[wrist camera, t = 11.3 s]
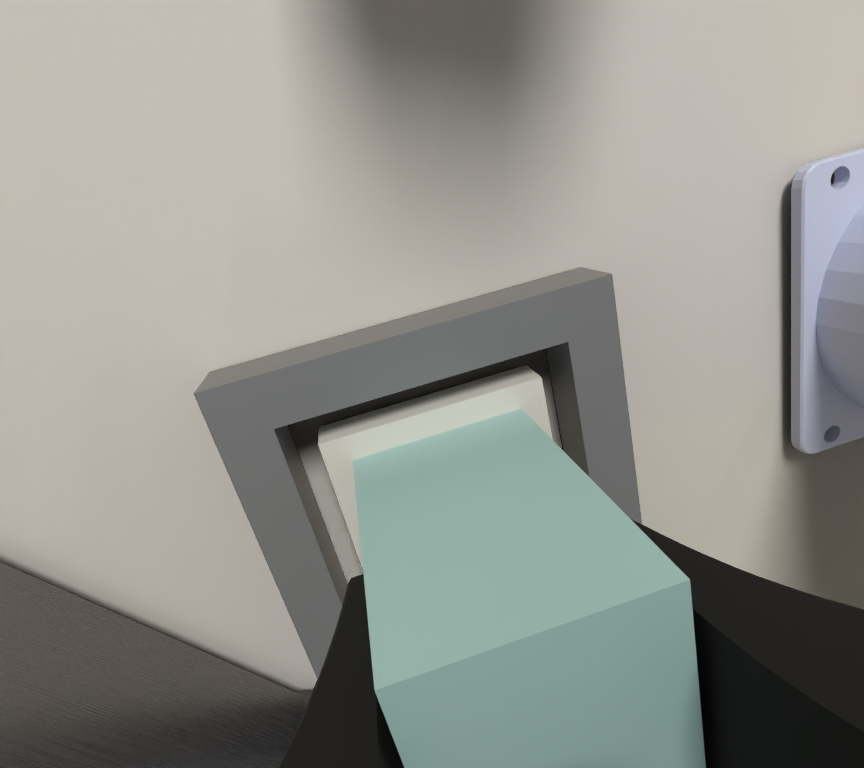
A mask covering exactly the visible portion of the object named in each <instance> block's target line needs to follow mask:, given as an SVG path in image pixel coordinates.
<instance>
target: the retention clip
mask: <svg viewBox="0 0 864 768" xmlns="http://www.w3.org/2000/svg"><path fill="white" fill-rule="evenodd" d="M312 692H313V691H310V690H304V691H298V692H294V691H292V690H289V689H287V688H285V687H283V686H280V685H278V684H276V683H274V682H271V681H269V680H267V679H264V678H262V677H260V676H258V675H255V674H253V673H251V672H249V671H246V670H244V669H242V668H239V667H237V666H235V665H233V664H230V663H228V662H226V661H224V660H221V659H219V658H217V657H215V656H212V655H210V654H208V653H205V652H203V651H201V650H199V649H196V648H194V647H192V646H190V645H187V644H185V643H183V642H180V641H178V640H176V639H174V638H171V637H169V636H167V635H165V634H162V633H160V632H158V631H155V630H153V629H151V628H149V627H146V626H144V625H142V624H140V623H137V622H135V621H133V620H131V619H128V618H126V617H124V616H121V615H119V614H117V613H115V612H112V611H110V610H108V609H106V608H103V607H101V606H99V605H96V604H94V603H92V602H90V601H87V600H85V599H83V598H81V597H78V596H76V595H74V594H72V593H69V592H67V591H65V590H62V589H60V588H58V587H56V586H53V585H51V584H49V583H47V582H44V581H42V580H40V579H37V578H35V577H33V576H31V575H28V574H26V573H24V572H22V571H19V570H17V569H15V568H12V567H10V566H8V565H6V564H3V563H1V562H0V768H278V766H279V764H280V762H281V760H282V758H283V756H284V754H285V752H286V750H287V748H288V746H289V744H290V742H291V740H292V738H293V736H294V734H295V731H296V729H297V727H298V725H299V723H300V720H301V718H302V716H303V714H304V711H305V709H306V706H307V704H308V701H309V699H310V697H311V694H312Z"/></svg>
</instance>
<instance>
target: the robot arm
mask: <svg viewBox="0 0 864 768" xmlns="http://www.w3.org/2000/svg"><path fill="white" fill-rule="evenodd" d="M833 172H834V174H835V179H834V183H833V184H832V185H831V181H830V180H831V176H832V174H833ZM863 437H864V148H860V149H857V150H853V151H849V152H846V153H842V154H838V155H835V156H831V157H827V158H824V159H820V160H816V161H813V162H809V163H807V164H805V165H803V166H802V167H801V168H800V169H799V170H798V171H797V172H796V174H795V176H794V178H793V181H792V187H791V442H792V445H793V446H794V447H795V448H796V449H798V450H800V451H801V452H803V453H806V454H815V453H818V452H821V451H824V450H827V449H830V448H833V447H836V446H839V445H842V444H845V443H848V442H851V441H854V440H857V439H860V438H863ZM631 520H632V519H631ZM632 521H633V522H634V523H635V524H636V525H637V526H638V527H639V528H640V529H641V530H642V531H643V532H644V533H645V534H646V535H647V536H648V537H649V538H650V539H651V540H652V541H653V542H654V543H655V544H656V545H657V546H658V547H659V549H660V550H661V551H662V552H663V553H664V554H665V555H666V556H667V557H668V558H669V559H670V560H671V561H672V562H673V563H674V564H675V565H676V566H677V567H678V568H679V569H680V570H681V571H682V572H683V573H684V574H685V575H686V576H687V577H688V578H689V579H690V584H691V596H692V608H693V620H694V632H695V644H696V656H697V668H698V679H699V691H700V703H701V715H702V727H703V739H704V751H705V763H706V768H864V610H863V609H859V608H856V607H852V606H849V605H845V604H842V603H838V602H835V601H831V600H827V599H824V598H821V597H818V596H814V595H811V594H808V593H805V592H802V591H799V590H796V589H793V588H790V587H787V586H784V585H781V584H778V583H776V582H773V581H770V580H767V579H764V578H761V577H758V576H756V575H753V574H751V573H748V572H745V571H743V570H740V569H738V568H735V567H733V566H730V565H728V564H726V563H723V562H721V561H719V560H716V559H714V558H712V557H709V556H707V555H704V554H702V553H700V552H698V551H696V550H693V549H691V548H689V547H687V546H685V545H682V544H680V543H678V542H676V541H674V540H672V539H670V538H668V537H666V536H664V535H662V534H660V533H658V532H656V531H654V530H652V529H650V528H648V527H646V526H644V525H642V524H640V523H638V522H636V521H634V520H632ZM278 768H404V765H403V763H402V760H401V758H400V755H399V753H398V750H397V747H396V745H395V742H394V740H393V737H392V734H391V732H390V729H389V727H388V724H387V721H386V719H385V716H384V714H383V711H382V709H381V706H380V703H379V701H378V698H377V696H376V693H375V690H374V680H373V669H372V659H371V648H370V637H369V627H368V616H367V606H366V595H365V585H364V574H363V575H359V576H356V577H353V578H351V580H350V581H349V583H348V585H347V589H346V594H345V598H344V601H343V605H342V609H341V612H340V616H339V619H338V622H337V625H336V629H335V632H334V635H333V638H332V641H331V644H330V647H329V649H328V652H327V655H326V658H325V661H324V664H323V667H322V669H321V672H320V675H319V677H318V680H317V682H316V684H315V687H314V689H313V692H312V694H311V697H310V699H309V701H308V704H307V706H306V709H305V711H304V714H303V716H302V718H301V720H300V723H299V725H298V727H297V729H296V731H295V734H294V736H293V738H292V740H291V742H290V744H289V746H288V748H287V750H286V752H285V754H284V756H283V758H282V760H281V762H280V764H279V766H278Z"/></svg>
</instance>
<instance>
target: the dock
mask: <svg viewBox="0 0 864 768" xmlns="http://www.w3.org/2000/svg"><path fill="white" fill-rule="evenodd" d="M545 348H546V353H547V359H548V364H549V370H550V376H551V382H552V388H553V393H554V399H555V405H556V411H557V417H558V422H559V428H560V434H561V440H562V446H563V451H564V452H565V453H566V454H567V455H568V456H569V457H570V458H571V459H572V460H573V461H574V462H575V463H576V464H577V465H578V466H579V467H580V468H581V469H582V470H583V471H584V472H585V473H586V474H587V475H588V476H589V477H590V478H591V479H592V480H593V481H594V483H595V484H596V485H597V486H598V487H599V488H600V489H601V490H602V491H603V492H604V493H605V494H606V495H607V496H608V497H609V498H610V499H611V500H612V501H613V502H614V503H615V504H616V505H617V506H618V507H619V508H620V509H621V510H622V511H623V512H624V513H625V514H626V515H627V516H628V517H629V518H630V519H632V520H634V521H636V522H638V523H640V524H642V521H641V513H640V504H639V496H638V488H637V479H636V471H635V463H634V454H633V446H632V437H631V429H630V421H629V412H628V404H627V396H626V387H625V379H624V370H623V362H622V354H621V345H620V337H619V329H618V320H617V312H616V303H615V295H614V287H613V278H612V274H610V273H605V272H600V271H596V270H591V269H586V268H582V267H580V268H576V269H573V270H569V271H565V272H562V273H558V274H555V275H551V276H548V277H544V278H541V279H537V280H534V281H530V282H527V283H523V284H520V285H516V286H512V287H509V288H505V289H502V290H498V291H495V292H491V293H488V294H484V295H481V296H477V297H474V298H470V299H466V300H463V301H459V302H456V303H452V304H449V305H445V306H442V307H438V308H435V309H431V310H428V311H424V312H420V313H417V314H413V315H410V316H406V317H403V318H399V319H396V320H392V321H389V322H385V323H382V324H378V325H375V326H371V327H367V328H364V329H360V330H357V331H353V332H350V333H346V334H343V335H339V336H336V337H332V338H329V339H325V340H321V341H318V342H314V343H311V344H307V345H304V346H300V347H297V348H293V349H290V350H286V351H283V352H279V353H275V354H272V355H268V356H265V357H261V358H258V359H254V360H251V361H247V362H244V363H240V364H237V365H233V366H229V367H226V368H222V369H219V370H215V371H212V372H209V374H208V375H207V376H206V378H205V379H204V380H203V382H202V383H201V384H200V386H199V387H198V388H197V390H196V391H195V392H194V395H195V398H196V400H197V402H198V405H199V407H200V409H201V412H202V414H203V416H204V419H205V421H206V423H207V425H208V428H209V430H210V432H211V435H212V437H213V439H214V442H215V444H216V446H217V448H218V451H219V453H220V455H221V458H222V460H223V462H224V465H225V467H226V469H227V471H228V474H229V476H230V478H231V481H232V483H233V485H234V488H235V490H236V492H237V494H238V497H239V499H240V501H241V504H242V506H243V508H244V511H245V513H246V515H247V518H248V520H249V522H250V524H251V527H252V529H253V531H254V534H255V536H256V538H257V541H258V543H259V545H260V547H261V550H262V552H263V554H264V557H265V559H266V561H267V564H268V566H269V568H270V570H271V573H272V575H273V577H274V580H275V582H276V584H277V587H278V589H279V591H280V593H281V596H282V598H283V600H284V603H285V605H286V607H287V610H288V612H289V614H290V617H291V619H292V621H293V623H294V626H295V628H296V630H297V633H298V635H299V637H300V640H301V642H302V644H303V646H304V649H305V651H306V653H307V656H308V658H309V660H310V663H311V665H312V667H313V669H314V672H315V674H316V676H317V679H318V677H319V675H320V672H321V669H322V667H323V664H324V661H325V658H326V655H327V652H328V649H329V647H330V644H331V641H332V638H333V635H334V632H335V629H336V625H337V622H338V619H339V616H340V612H341V609H342V605H343V601H344V598H345V594H346V589H347V582H346V579H345V577H344V574H343V571H342V569H341V566H340V563H339V561H338V558H337V555H336V553H335V550H334V547H333V545H332V542H331V539H330V537H329V534H328V531H327V529H326V526H325V523H324V521H323V518H322V515H321V513H320V510H319V507H318V505H317V502H316V499H315V497H314V494H313V491H312V489H311V486H310V483H309V481H308V478H307V475H306V473H305V470H304V467H303V465H302V462H301V459H300V457H299V454H298V451H297V449H296V446H295V443H294V440H293V438H292V435H291V432H290V430H289V427H288V425H289V424H293V423H296V422H300V421H303V420H306V419H310V418H313V417H316V416H320V415H323V414H326V413H330V412H333V411H337V410H340V409H343V408H347V407H350V406H353V405H357V404H360V403H364V402H367V401H370V400H374V399H377V398H380V397H384V396H387V395H390V394H394V393H397V392H401V391H404V390H407V389H411V388H414V387H417V386H421V385H424V384H428V383H431V382H434V381H438V380H441V379H444V378H448V377H451V376H454V375H458V374H461V373H465V372H468V371H471V370H475V369H478V368H481V367H485V366H488V365H492V364H495V363H498V362H502V361H505V360H508V359H512V358H515V357H518V356H522V355H525V354H529V353H532V352H535V351H539V350H542V349H545Z"/></svg>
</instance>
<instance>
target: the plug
mask: <svg viewBox="0 0 864 768" xmlns="http://www.w3.org/2000/svg"><path fill="white" fill-rule="evenodd" d="M318 446H319V449H320V452H321V454H322V457H323V460H324V463H325V466H326V468H327V471H328V474H329V477H330V480H331V482H332V485H333V488H334V491H335V494H336V496H337V499H338V502H339V505H340V508H341V510H342V513H343V516H344V519H345V522H346V524H347V527H348V530H349V533H350V536H351V538H352V541H353V544H354V547H355V550H356V552H357V555H358V558H359V561H360V564H361V566H362V569H363V574H364V585H365V595H366V606H367V616H368V627H369V637H370V648H371V659H372V669H373V680H374V690H375V693H376V696H377V698H378V701H379V703H380V706H381V709H382V711H383V714H384V716H385V719H386V721H387V724H388V727H389V729H390V732H391V734H392V737H393V740H394V742H395V745H396V747H397V750H398V753H399V755H400V758H401V760H402V763H403V765H404V768H706V763H705V751H704V739H703V727H702V715H701V703H700V691H699V679H698V668H697V656H696V644H695V632H694V620H693V608H692V596H691V584H690V579H689V578H688V577H687V576H686V575H685V574H684V573H683V572H682V571H681V570H680V569H679V568H678V567H677V566H676V565H675V564H674V563H673V562H672V561H671V560H670V559H669V558H668V557H667V556H666V555H665V554H664V553H663V552H662V551H661V550H660V549H659V547H658V546H657V545H656V544H655V543H654V542H653V541H652V540H651V539H650V538H649V537H648V536H647V535H646V534H645V533H644V532H643V531H642V530H641V529H640V528H639V527H638V526H637V525H636V524H635V523H634V522H633V521H632V520H631V519H630V518H629V517H628V516H627V515H626V514H625V513H624V512H623V511H622V510H621V509H620V508H619V507H618V506H617V505H616V504H615V503H614V502H613V501H612V500H611V499H610V498H609V497H608V496H607V495H606V494H605V493H604V492H603V491H602V490H601V489H600V488H599V487H598V486H597V485H596V484H595V483H594V481H593V480H592V479H591V478H590V477H589V476H588V475H587V474H586V473H585V472H584V471H583V470H582V469H581V468H580V467H579V466H578V465H577V464H576V463H575V462H574V461H573V460H572V459H571V458H570V457H569V456H568V455H567V454H566V453H565V452H564V451H563V450H562V449H561V448H560V447H559V446H558V445H557V444H556V443H555V442H554V441H553V438H552V432H551V427H550V421H549V416H548V410H547V405H546V399H545V393H544V388H543V382H542V377H541V376H540V375H538V374H537V373H536V372H534V371H533V370H532V369H530V368H529V367H528V366H527V365H525V366H521V367H518V368H515V369H511V370H508V371H505V372H501V373H498V374H495V375H491V376H488V377H485V378H481V379H478V380H475V381H471V382H468V383H464V384H461V385H458V386H454V387H451V388H448V389H444V390H441V391H438V392H434V393H431V394H428V395H424V396H421V397H418V398H414V399H411V400H408V401H404V402H401V403H397V404H394V405H391V406H387V407H384V408H381V409H377V410H374V411H371V412H367V413H364V414H361V415H357V416H354V417H351V418H347V419H344V420H340V421H337V422H334V423H330V424H327V425H324V426H320V427H319V435H318Z"/></svg>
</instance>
